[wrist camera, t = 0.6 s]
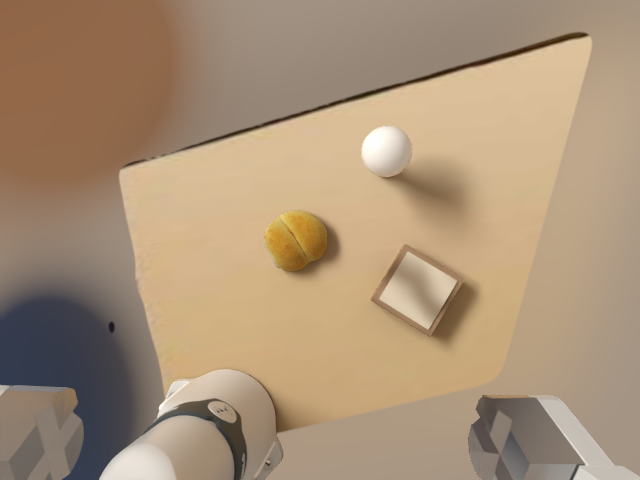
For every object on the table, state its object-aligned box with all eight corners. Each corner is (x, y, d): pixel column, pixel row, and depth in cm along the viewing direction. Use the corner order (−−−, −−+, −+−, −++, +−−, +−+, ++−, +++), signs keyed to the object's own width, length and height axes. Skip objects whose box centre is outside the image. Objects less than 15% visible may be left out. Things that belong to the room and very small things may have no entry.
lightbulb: (380, 198, 57) (386, 180, 46) (351, 167, 58) (351, 141, 47) (413, 169, 57) (427, 144, 46) (383, 138, 58) (390, 106, 47)
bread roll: (337, 248, 57) (336, 246, 53) (284, 278, 58) (279, 279, 54) (309, 200, 58) (306, 194, 54) (257, 230, 59) (251, 227, 55)
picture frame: (426, 334, 55) (430, 337, 52) (370, 299, 56) (371, 300, 53) (459, 279, 55) (465, 279, 52) (403, 245, 56) (406, 244, 53)
